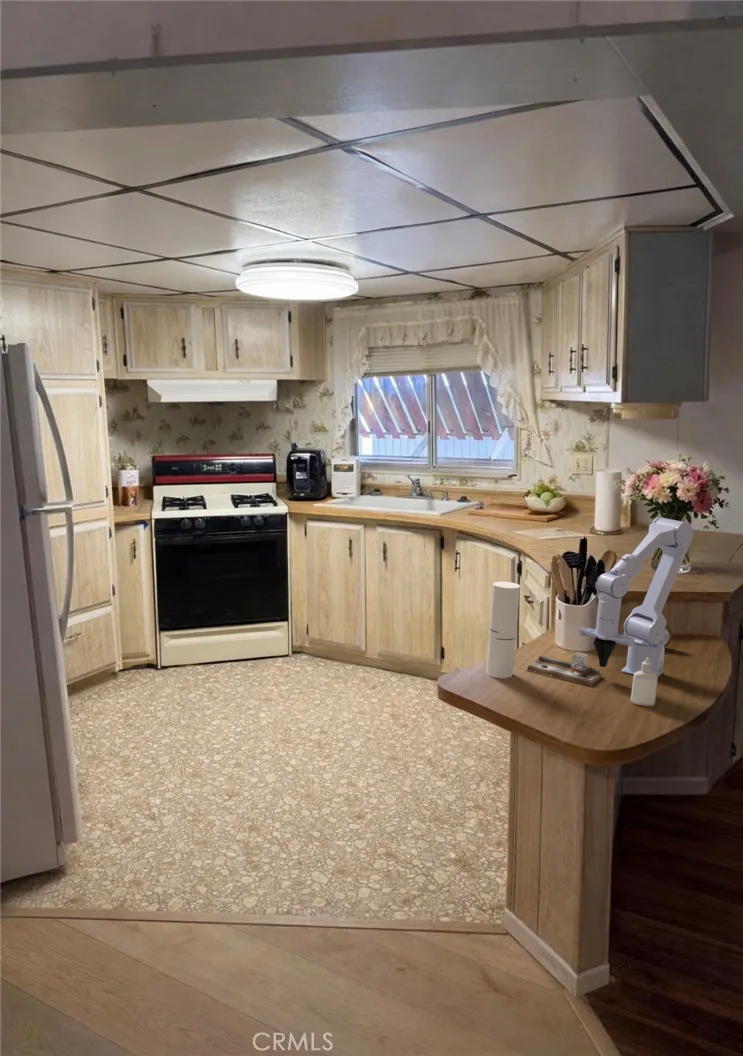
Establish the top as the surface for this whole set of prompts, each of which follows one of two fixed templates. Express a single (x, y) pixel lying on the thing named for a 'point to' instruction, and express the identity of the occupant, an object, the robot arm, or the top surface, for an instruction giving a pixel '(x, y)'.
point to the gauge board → (565, 671)
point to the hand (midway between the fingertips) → (603, 665)
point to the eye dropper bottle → (644, 685)
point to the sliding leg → (579, 661)
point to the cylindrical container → (502, 629)
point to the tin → (663, 642)
